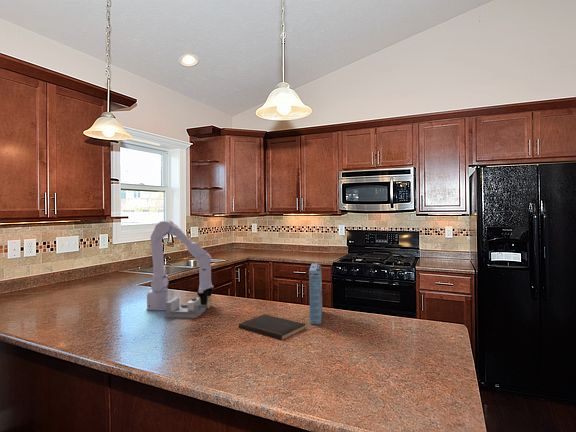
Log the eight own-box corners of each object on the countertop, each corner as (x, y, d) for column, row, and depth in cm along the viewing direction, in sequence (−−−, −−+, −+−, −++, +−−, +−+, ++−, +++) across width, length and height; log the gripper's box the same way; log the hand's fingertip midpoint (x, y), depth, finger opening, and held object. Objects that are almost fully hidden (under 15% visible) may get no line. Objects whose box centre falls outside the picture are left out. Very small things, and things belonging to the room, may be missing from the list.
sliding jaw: (187, 312, 160) (187, 300, 160) (194, 307, 169) (194, 295, 169) (193, 313, 160) (193, 300, 159) (200, 307, 168) (200, 295, 168)
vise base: (165, 317, 159) (164, 303, 159) (176, 309, 171) (175, 296, 171) (196, 318, 158) (196, 303, 158) (205, 310, 170) (205, 297, 170)
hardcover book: (264, 319, 157) (264, 314, 157) (306, 329, 143) (306, 324, 143) (238, 329, 144) (238, 323, 144) (281, 341, 130) (281, 335, 130)
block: (200, 308, 174) (200, 298, 174) (203, 305, 179) (203, 295, 179) (208, 308, 173) (207, 298, 173) (211, 305, 178) (211, 295, 178)
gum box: (321, 324, 147) (320, 270, 146) (308, 324, 147) (308, 270, 147) (322, 311, 166) (322, 263, 165) (311, 310, 167) (311, 263, 166)
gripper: (208, 280, 168) (208, 308, 168) (217, 274, 182) (217, 300, 183) (194, 280, 169) (194, 307, 169) (204, 274, 183) (204, 300, 183)
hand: (205, 303), depth 176 cm, fingers closed on block, 5 cm apart
